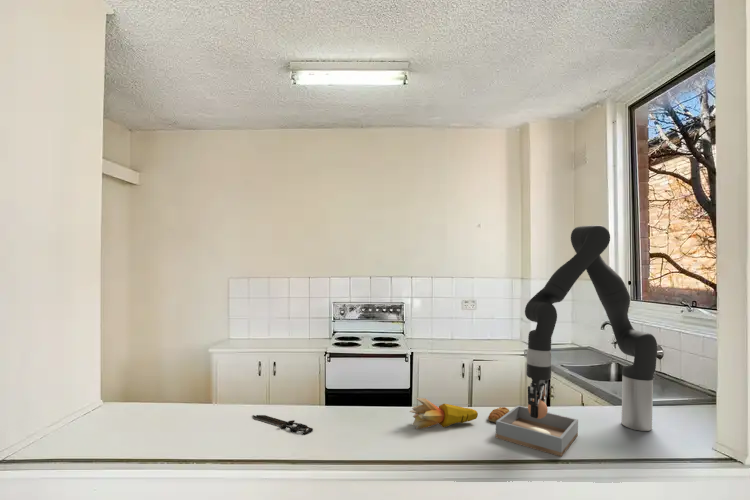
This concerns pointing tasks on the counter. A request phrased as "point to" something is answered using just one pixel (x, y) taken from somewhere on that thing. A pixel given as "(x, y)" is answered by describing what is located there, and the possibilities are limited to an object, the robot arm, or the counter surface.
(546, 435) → the pen walls
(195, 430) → the counter surface
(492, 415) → the pastry
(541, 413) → the brown egg
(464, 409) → the torch
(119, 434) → the counter surface
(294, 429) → the knife
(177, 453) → the counter surface
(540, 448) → the pen board
